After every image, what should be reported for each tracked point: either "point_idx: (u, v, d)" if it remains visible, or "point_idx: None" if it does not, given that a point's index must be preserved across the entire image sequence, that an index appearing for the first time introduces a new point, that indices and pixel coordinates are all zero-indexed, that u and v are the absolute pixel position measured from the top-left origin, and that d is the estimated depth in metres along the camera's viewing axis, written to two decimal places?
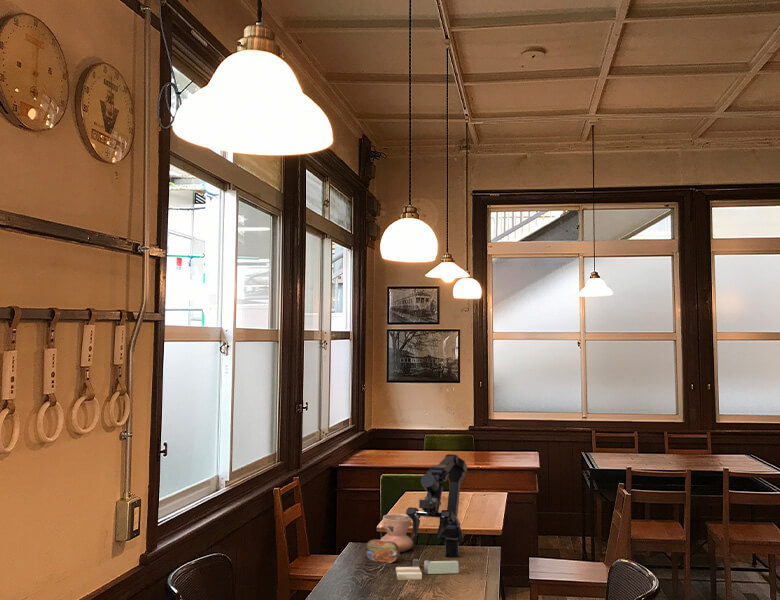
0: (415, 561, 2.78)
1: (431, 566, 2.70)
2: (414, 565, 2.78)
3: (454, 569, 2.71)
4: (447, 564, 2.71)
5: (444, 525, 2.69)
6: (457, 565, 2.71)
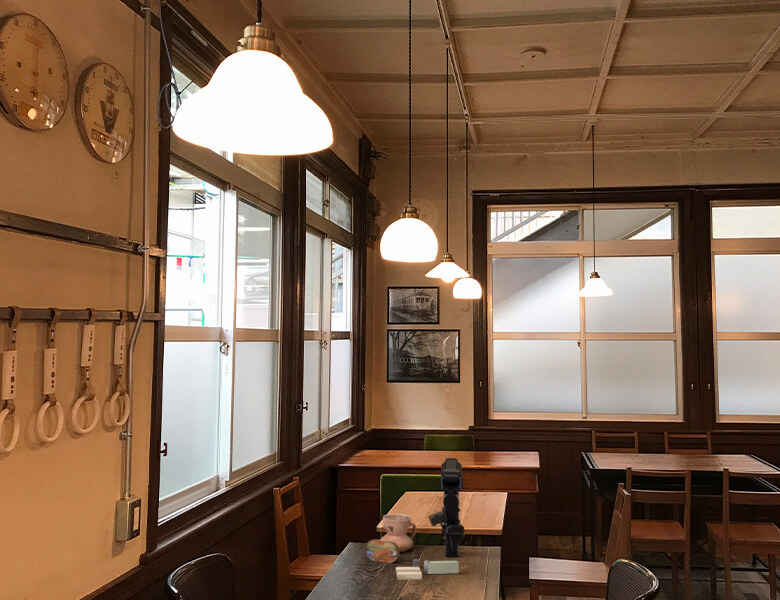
0: (415, 561, 2.78)
1: (431, 566, 2.70)
2: (414, 565, 2.78)
3: (454, 569, 2.71)
4: (447, 564, 2.71)
5: (457, 537, 2.57)
6: (457, 565, 2.71)
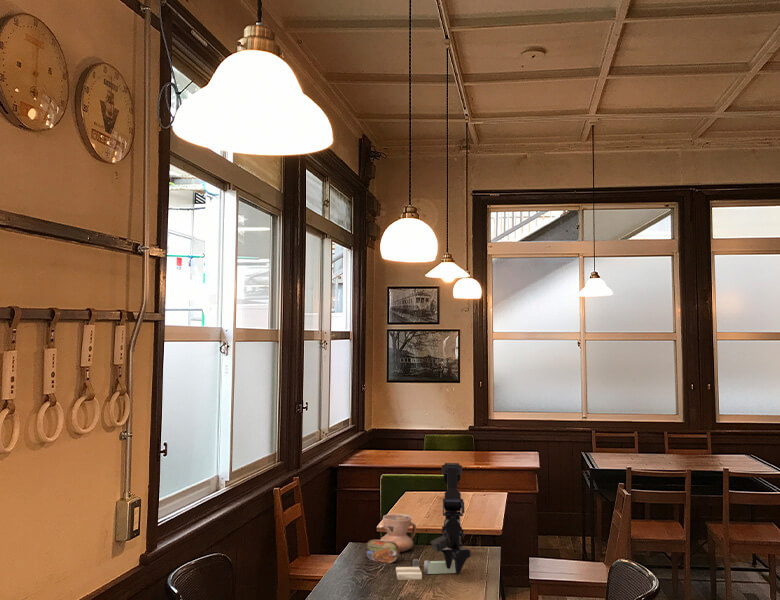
0: (415, 561, 2.78)
1: (432, 566, 2.70)
2: (414, 565, 2.78)
3: (453, 568, 2.71)
4: None
5: (461, 560, 2.62)
6: None
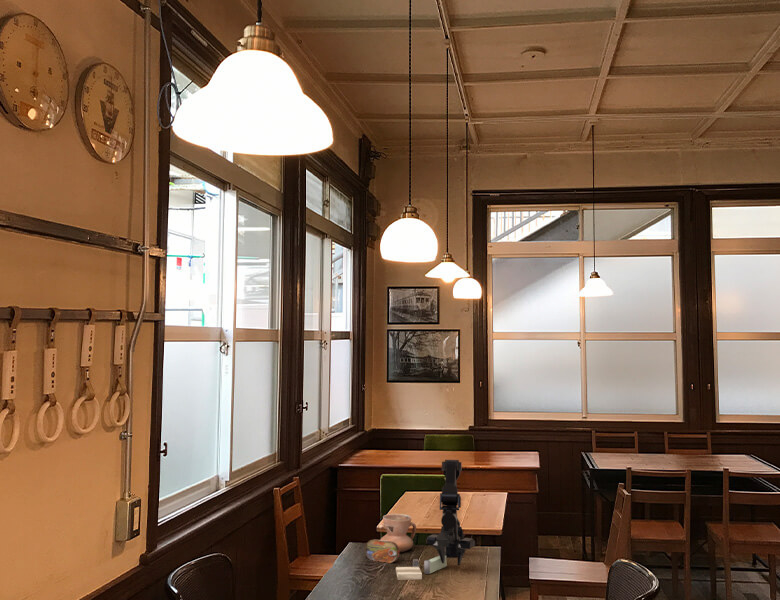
0: (415, 561, 2.78)
1: (432, 564, 2.72)
2: (414, 565, 2.78)
3: (444, 563, 2.79)
4: (440, 559, 2.77)
5: (463, 551, 2.74)
6: (446, 558, 2.80)
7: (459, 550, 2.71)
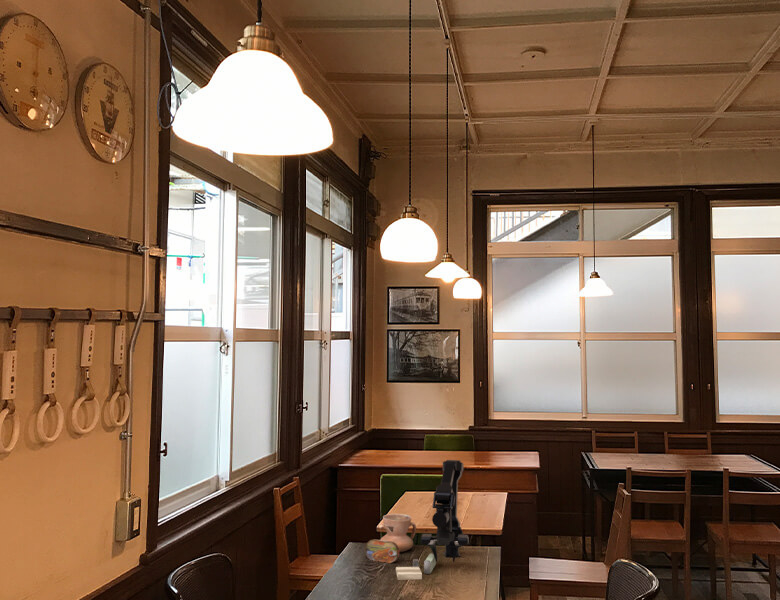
0: (415, 561, 2.78)
1: (431, 564, 2.73)
2: (414, 565, 2.78)
3: (435, 561, 2.81)
4: (434, 558, 2.79)
5: None
6: None
7: (456, 547, 2.75)
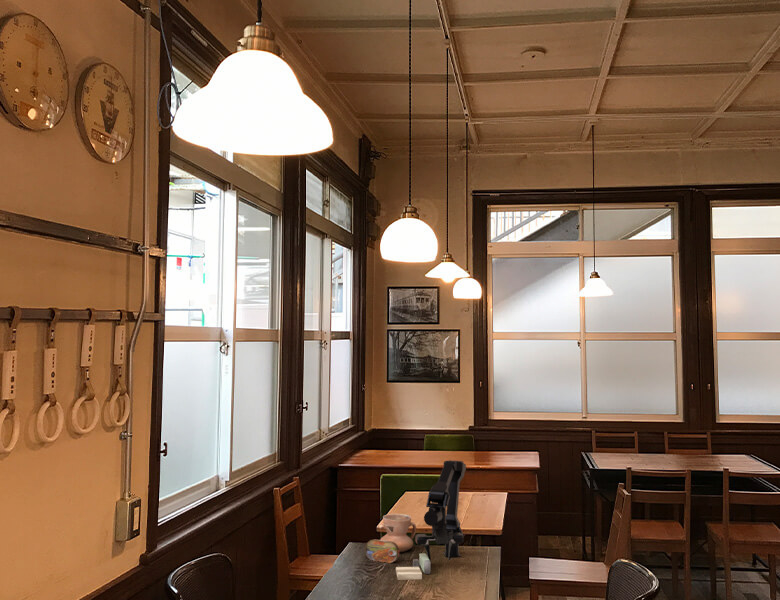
0: (415, 561, 2.78)
1: None
2: (414, 565, 2.78)
3: None
4: None
5: None
6: None
7: (453, 545, 2.78)
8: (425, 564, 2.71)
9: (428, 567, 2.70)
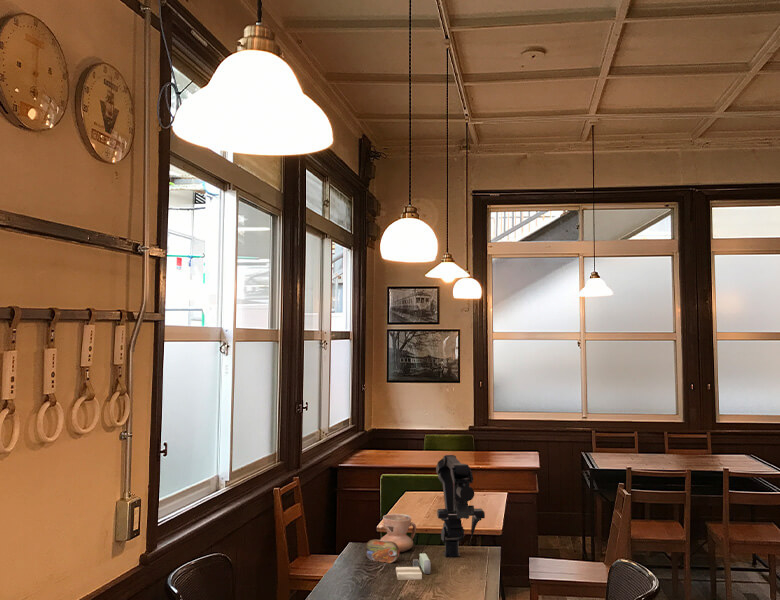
0: (415, 561, 2.78)
1: None
2: (414, 565, 2.78)
3: None
4: None
5: None
6: None
7: (476, 520, 2.81)
8: (425, 564, 2.71)
9: (428, 567, 2.70)
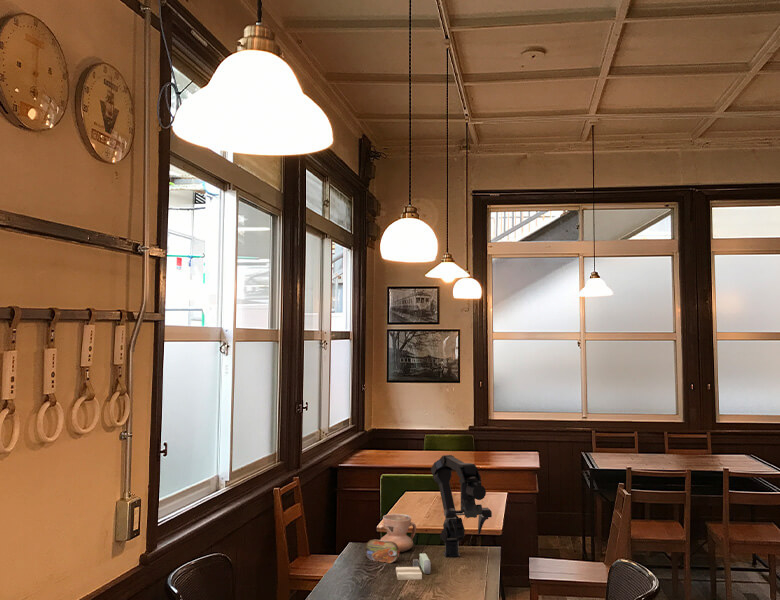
0: (415, 561, 2.78)
1: None
2: (414, 565, 2.78)
3: None
4: None
5: None
6: None
7: (483, 519, 2.82)
8: (425, 564, 2.71)
9: (428, 567, 2.70)
